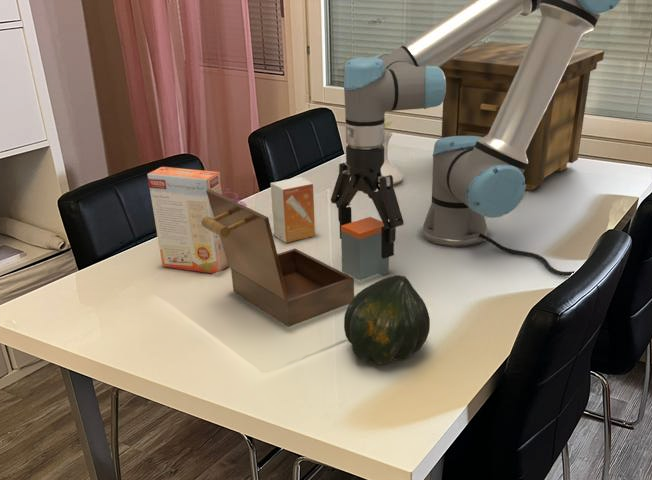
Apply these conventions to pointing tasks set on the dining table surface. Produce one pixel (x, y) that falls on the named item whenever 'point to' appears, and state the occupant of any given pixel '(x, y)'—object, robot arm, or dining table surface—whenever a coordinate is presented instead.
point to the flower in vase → (387, 166)
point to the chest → (299, 289)
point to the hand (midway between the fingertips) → (366, 246)
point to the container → (363, 249)
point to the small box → (293, 209)
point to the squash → (387, 321)
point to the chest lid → (246, 242)
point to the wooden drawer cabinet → (491, 89)
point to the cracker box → (186, 219)
